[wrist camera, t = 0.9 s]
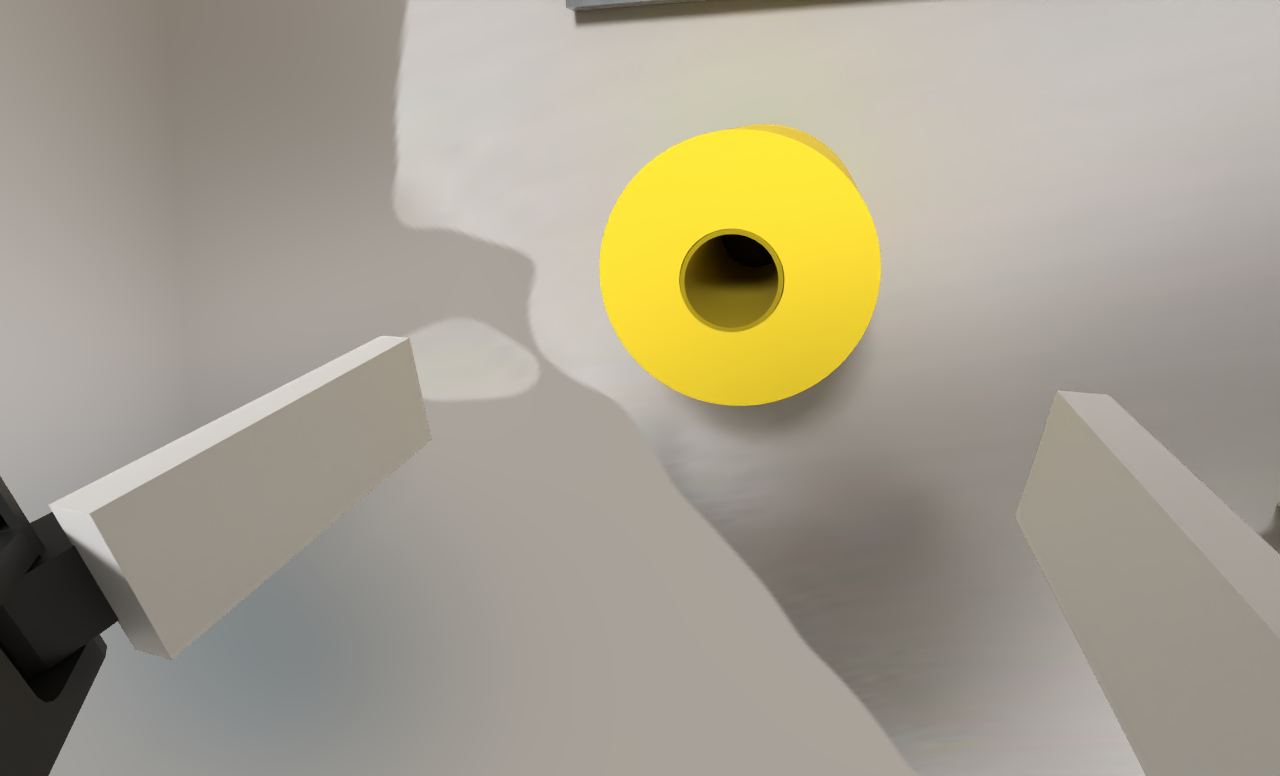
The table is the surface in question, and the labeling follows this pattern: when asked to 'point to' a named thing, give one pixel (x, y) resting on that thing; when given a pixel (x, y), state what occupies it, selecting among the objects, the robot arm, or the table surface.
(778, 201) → the tape roll
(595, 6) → the ring collar plate
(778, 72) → the table surface
